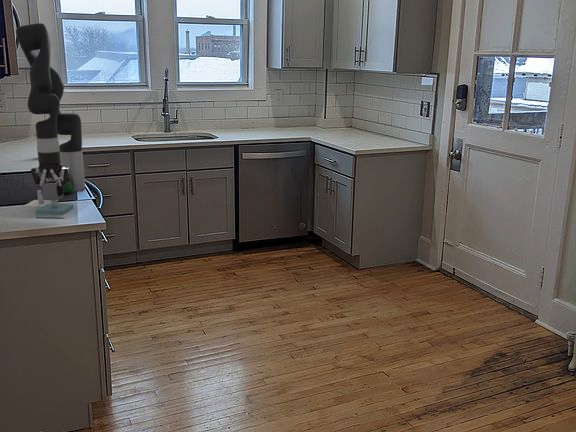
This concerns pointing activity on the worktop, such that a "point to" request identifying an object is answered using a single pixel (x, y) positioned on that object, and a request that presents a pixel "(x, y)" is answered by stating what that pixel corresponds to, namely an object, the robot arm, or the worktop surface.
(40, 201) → the rod stand
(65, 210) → the block
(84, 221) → the worktop surface
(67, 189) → the clamp
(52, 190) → the metal collar
